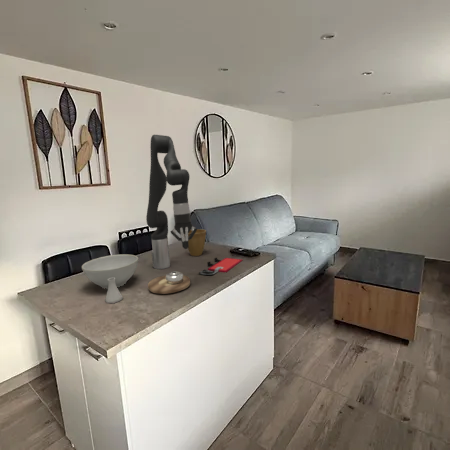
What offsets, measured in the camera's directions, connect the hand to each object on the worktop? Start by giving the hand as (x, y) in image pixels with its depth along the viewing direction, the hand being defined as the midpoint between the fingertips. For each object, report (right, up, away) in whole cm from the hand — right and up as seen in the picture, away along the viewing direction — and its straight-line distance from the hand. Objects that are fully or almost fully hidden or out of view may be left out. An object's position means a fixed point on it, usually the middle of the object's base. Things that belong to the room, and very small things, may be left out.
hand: (185, 248), depth 140 cm
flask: (-31, -22, -9) cm, 39 cm away
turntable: (-8, -19, +2) cm, 21 cm away
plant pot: (0, -9, +56) cm, 57 cm away
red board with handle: (+16, -13, +28) cm, 35 cm away
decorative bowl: (-38, -19, +10) cm, 44 cm away
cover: (-5, -16, +1) cm, 17 cm away
